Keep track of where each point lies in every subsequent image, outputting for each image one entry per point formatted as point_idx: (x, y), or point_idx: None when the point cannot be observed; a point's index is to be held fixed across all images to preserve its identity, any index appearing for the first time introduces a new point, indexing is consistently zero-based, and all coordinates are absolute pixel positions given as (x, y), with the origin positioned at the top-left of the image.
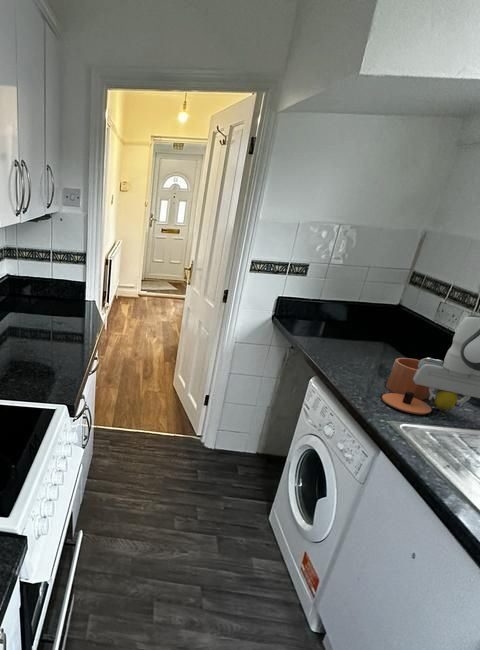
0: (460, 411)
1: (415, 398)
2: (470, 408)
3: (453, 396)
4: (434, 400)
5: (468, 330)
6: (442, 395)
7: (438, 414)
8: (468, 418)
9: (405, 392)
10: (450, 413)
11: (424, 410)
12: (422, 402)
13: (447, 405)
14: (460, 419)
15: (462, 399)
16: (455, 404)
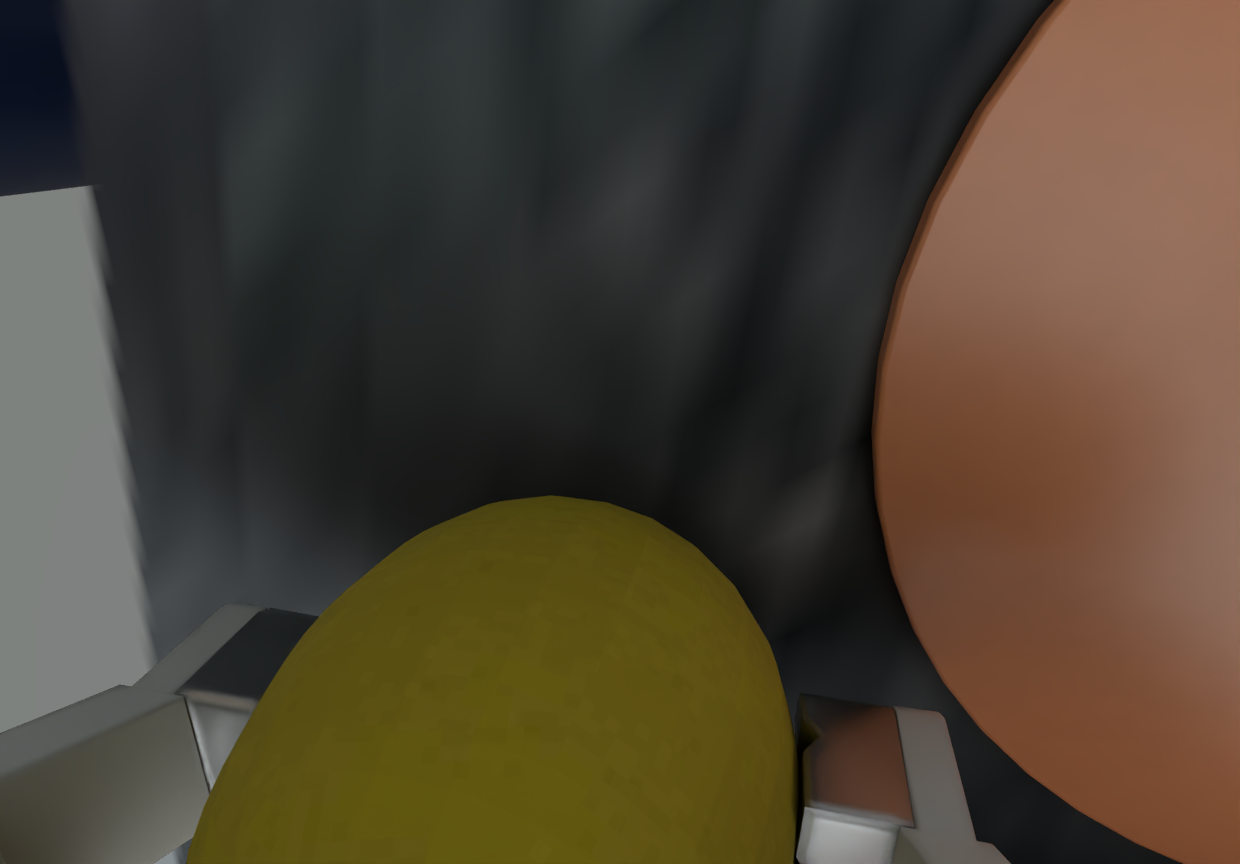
0: (294, 602)
1: (1126, 814)
2: None
3: (282, 802)
4: (809, 697)
5: None
6: (663, 822)
7: (752, 104)
8: (152, 320)
9: None
10: (460, 384)
11: (1188, 55)
12: (1019, 659)
13: (509, 516)
14: (274, 129)
15: (117, 815)
16: None
